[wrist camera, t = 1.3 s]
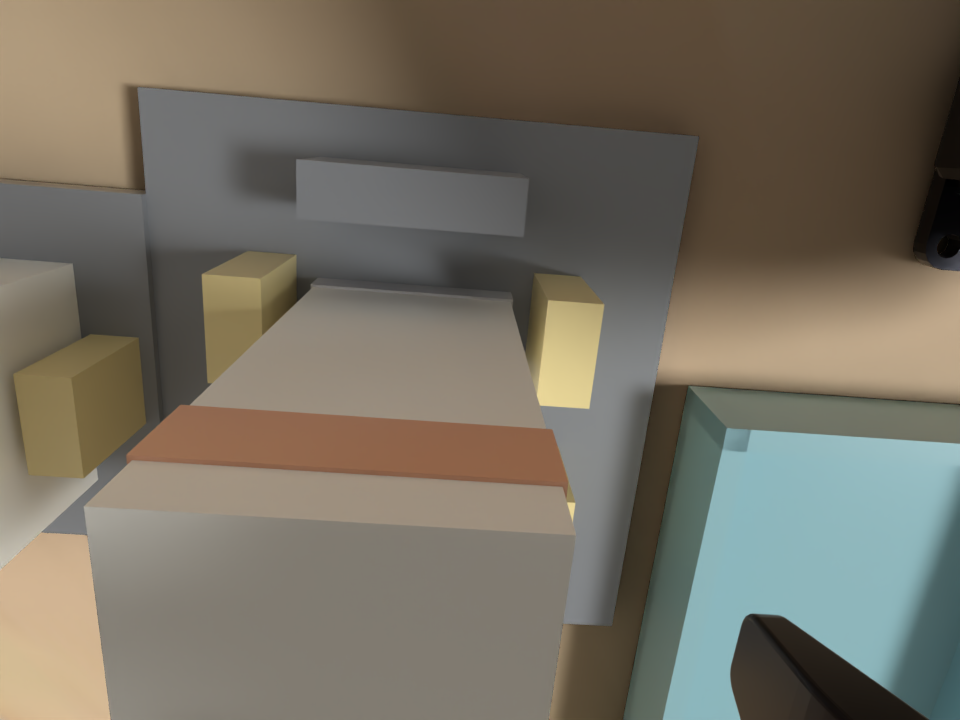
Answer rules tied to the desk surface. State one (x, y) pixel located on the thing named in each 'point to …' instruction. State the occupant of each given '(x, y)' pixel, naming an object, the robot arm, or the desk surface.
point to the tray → (805, 546)
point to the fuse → (343, 525)
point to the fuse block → (336, 255)
